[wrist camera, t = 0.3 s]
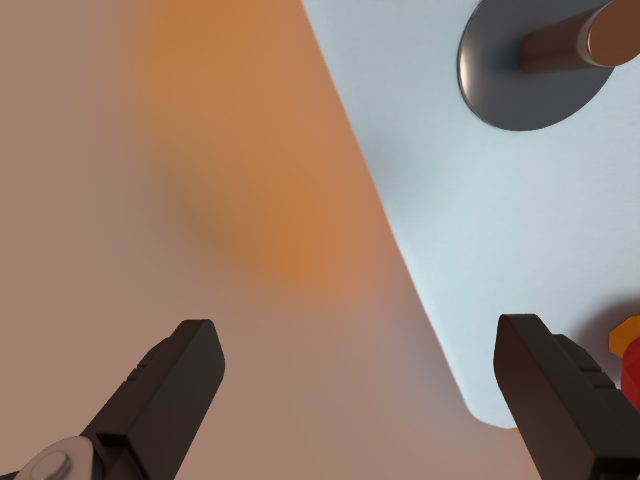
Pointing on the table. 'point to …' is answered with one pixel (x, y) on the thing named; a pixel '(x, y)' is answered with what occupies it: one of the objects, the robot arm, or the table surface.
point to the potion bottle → (628, 357)
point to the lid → (543, 57)
